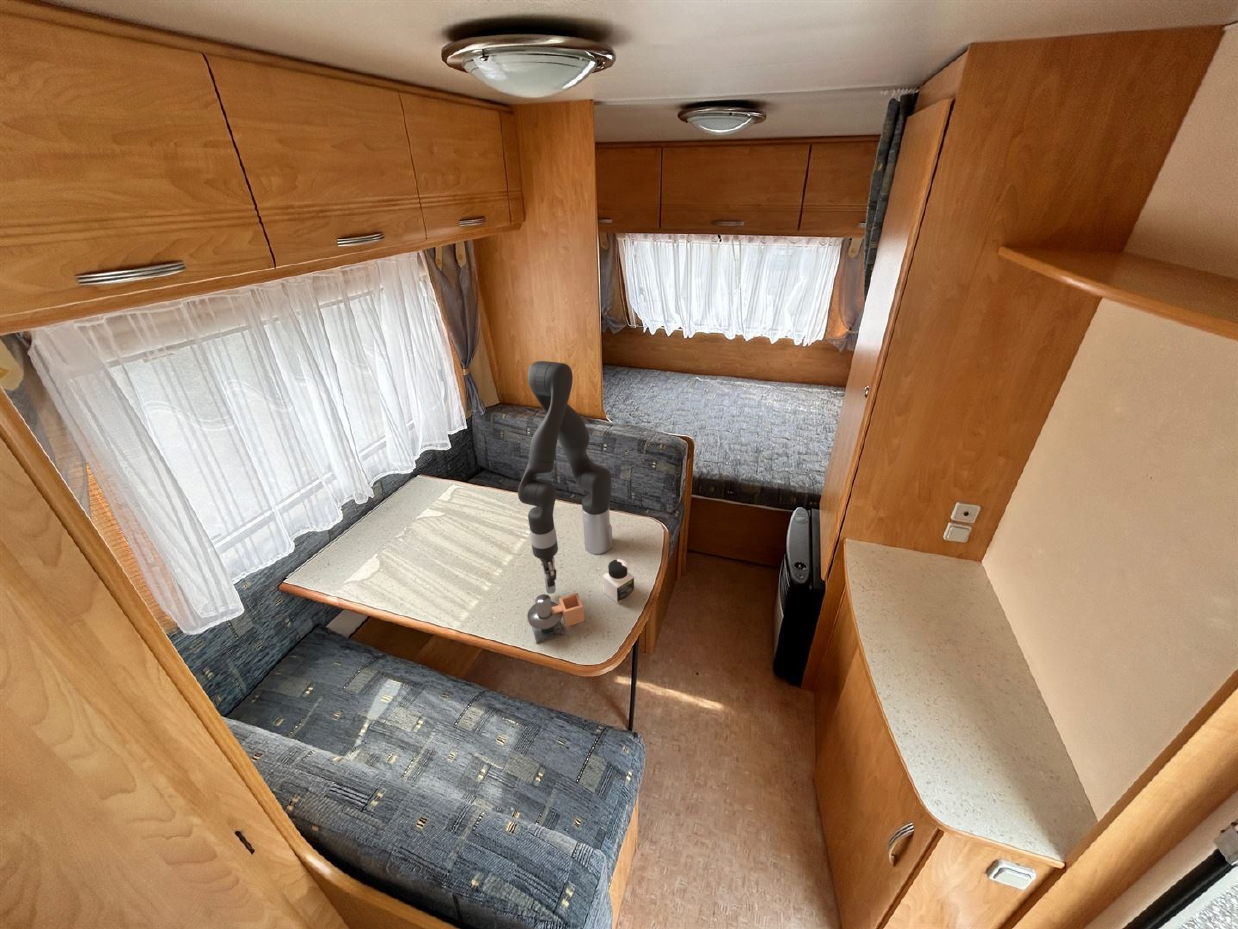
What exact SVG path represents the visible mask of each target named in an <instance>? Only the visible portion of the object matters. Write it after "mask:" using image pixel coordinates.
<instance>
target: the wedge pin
mask: <svg viewBox="0 0 1238 929" xmlns="http://www.w3.org/2000/svg"><path fill="white" fill-rule="evenodd" d="M542 571H543V570H542ZM543 577H544V584H545V590H546V593H547V594H549V595H553V594H555V592H556V591H557V589H556V587H557V586H556V585H555V586H552V587H548V584H547V578H546V574H545V573H544V571H543Z"/></svg>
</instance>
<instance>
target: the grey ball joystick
mask: <svg viewBox="0 0 1238 929" xmlns="http://www.w3.org/2000/svg"><path fill="white" fill-rule="evenodd" d="M558 605H559V604H558V602H555V601H552V598H551V596H550V594H549V595H548V594H540V595H538V596H536V598H535V600H534V604H533V605H532V606H531V607H530V608H529V610H528V611H527V622H528V624H529V625H530V626H531V628H532V632H533V636H534V640H535V642H536V644H539V643H542V642H545V641H549V640H552V639H556V638H559V637H562V636H564V631H563V628H562V626H561V623H560V622H561V620H563V618H562V612H560V613H557V614H553V615H552V607H554V606H558Z"/></svg>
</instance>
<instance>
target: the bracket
mask: <svg viewBox="0 0 1238 929" xmlns="http://www.w3.org/2000/svg"><path fill="white" fill-rule="evenodd" d="M558 602H559V604H558V606H554V607H552V615H553V614H557V613H560V612H562V621H563V624H564V626H565V627H568V626H569V627H570V626H573V625H575V624H579V623H582V622H585V611H584V610H585V609H584V605H583V602H582V599H581V598H580V595H579V593H578V592H577V593H573V594H569V595H565V596H562V597H559V598H558Z"/></svg>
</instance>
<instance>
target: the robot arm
mask: <svg viewBox="0 0 1238 929" xmlns="http://www.w3.org/2000/svg"><path fill="white" fill-rule="evenodd" d="M528 367H529V368H528V370H527V382H528V386H529V388H530V391H531V393H532V394H533V395H534V397H535V399H536V400H537V401H538V403H539V405H540V407H541V408H542V410H543V411H544V413H545V416H544V418H543V420H542V422H541V423H540V425H539V426H538V427H537V429H535V431H534V433H533V435H532V438H531V441H530V445H529V446H530V447H529V453H528V461H527V462H528V463H527V465H526V468H525V471H524V473H523V475H522V477H521V478H522V479H521V481H520V483H519V485H518V489H517V496H518V500H519V502H521V504H525V505H529V506H532V508H531V509H530V510H529V511H528V513H527V518H528V525H529V537H530V542H531V543H530V544H531V550H532V554H533V556H534V557H535V558H538V559H539V561H540V562H539V563H540V566H541V568H542V571H544V572H543V574H544V573H545V574H546V578H547V584H548V587H552V586H556V580H557V570H556V566H555V565H556V564H555V560H556V559H555V556H556V555H557V553H558V551H559V547H558V546H559V545H558V538H557V537H558V536H557V531H556V527H555V523H554V511H555V504H556V501H557V488H556V487H555V485H554V484H552V483H551V482H547V481H542V480H537V478H538V477H539V475H540V474H549V473H552V472H553V470H554V466H555V459H556V451H557V444H558V442H559V444H560V446H561V448H562V449H563V450H562V451H563V452H564V455H565V457H566V458H567V461H568V463H569V466H570V468H571V472H572V473H571V474H572V476H573V479H574V481H575V483H576V485H577V486H578V487H579V488H580V489H582V490H584V491H587V492H589V494H587V495H585V496H584V497H583V498H582V501H581V509H582V510H581V511H582V523H583V524H582V525H583V539H584V543H583V544H584V549H585V551H586V552H588V553H589V554H592V555H601V554H605V553H607V552H608V551H609V550H610V549H612V548H613V526H612V524H611V521H610V514H611V513H610V502H611V498H612V474H611V472H610V470H609V469H608V468H606V467H604V466H601V465H599V464H596V463H594V462H593V461H591V459H590V458H589V456H588V453H587V449H588V448H589V445H590V444H589V443H590V434H589V430H588V429H587V426H586V423H585V420H584V419H583V417H582V416H581V415H580V414H579V413H578V412H577V411H576V410H575V409H574V408H573V407H572V406H571V405H569V400H570V395H571V392H572V389H573V388H572V387H573V383H574V382H573V380H574V374H573V371H572V369H571V367H570V366H569V365H568V364H567V363H564V362H559V361H558V362H556V361H545V360H539V361H534V362H532V363H531V364H530V366H528ZM533 506H534V507H533Z"/></svg>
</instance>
